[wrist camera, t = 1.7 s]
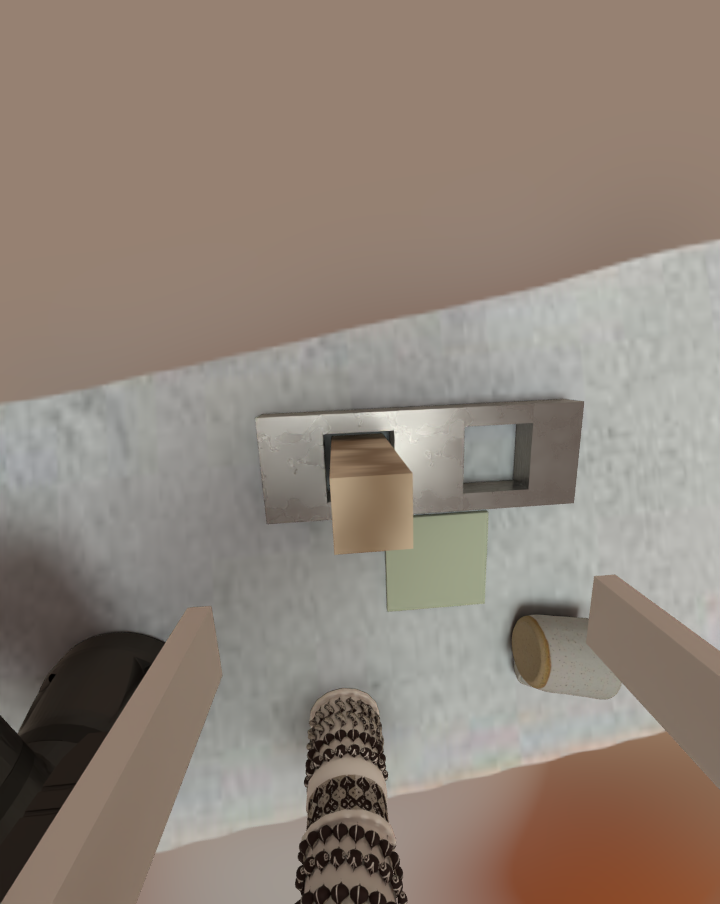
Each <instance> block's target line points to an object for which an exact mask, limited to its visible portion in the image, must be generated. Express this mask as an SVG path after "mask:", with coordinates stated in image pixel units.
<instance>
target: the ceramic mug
mask: <svg viewBox="0 0 720 904" xmlns="http://www.w3.org/2000/svg"><path fill="white" fill-rule="evenodd" d="M588 622H589V619H588V618H575V617H563V616H548V615H527V616H524V617H521V618H520V619H519V620H518V621H517V623H516V625H515V627H514V629H513V634H512V651H513V657H514V660H515V664H514V670H515V674H516V677H517V679H518V681H519V682H520V683H522V684H524V685H527V686H532V687H534V688H536V689H539V690H542V691H546V692H551V693H560V694H569V695H575V696H582V697H589V698H595V699H610V698H612V697H614V696H615V695H616V694H617V693H618V691H619V689H620V687H621V683H622V682H621V681H620V680H619V679H618V678H617V677H616V676H615V674H614V673H613V672H612V671H611V670H610V669H609V668H608V667H607V666H606V665H605V664H604V662H603V661H602V660H601V659H600V658H599V657H598V656H597V655H596V654H595V653H594V651H593V650H592V649H591V648H590V647H589V646H588V645H587V644H586V638H587V630H588Z"/></svg>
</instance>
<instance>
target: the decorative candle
mask: <svg viewBox="0 0 720 904" xmlns="http://www.w3.org/2000/svg"><path fill="white" fill-rule="evenodd" d="M379 715H380V714H379V710H378V707H377V704H376V702H375V701H374V700H373V699H372V698H371V697H370V696H369V695H368V694H367V693H365V692H362V691H360V690H357V689H348V688H341V689H337V690H334V691H330V692H328V693H326V694H325V695H324V696H322V697H321V698H319V699H318V700H317V701H316V703H315V704H314V706H313V708H312V709H311V714H310V722H309V724H310V726H311V729H310V730H308V738H309V739H310V743H308V744H307V749H308V750H310V751H309V752H308V754H307V757H308V760H307V761H306V775H307V776H306V777H305V780H304V785H305V787H307V803H306V811H307V813H308V818H307V830H306V833H305V834H304V835H303V837H302V840H301V843H300V844H299V850H300V852H299V853H298V859H299V861H300V862H301V863H302V864H303V865H302V866H300V867H299V868H298V870H297V872H296V876H297V878H296V882H295V886H296V888H297V889H298V890H299V891H300V892H301V895H302V897H301V899H300V900H299V901H297V902H296V903H295V904H397V903H396V898H397V897H398V904H407V896H406V894H405V893H404V892H403V891H402V888H403V884H402V878H403V871H402V869H401V867H399V864H400V859H399V856H398V854H397V853H396V852H394V851H395V847H396V838H395V835H394V832H393V830H392V827H391V825H390V824H389V821H388V813H387V805H386V804H387V799H388V798H387V790H386V783H385V781H386V780H387V778H388V772H387V771H386V770H385V769H386V765H385V761H386V757H385V755H384V754H383V752H384V751H383V744H384V738H383V736H382V732H381V731H382V724H381V723H380V717H379ZM312 748H313V749H312ZM392 867H393V868H392ZM393 871H394V873H393ZM393 874H394V875H393Z"/></svg>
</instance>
